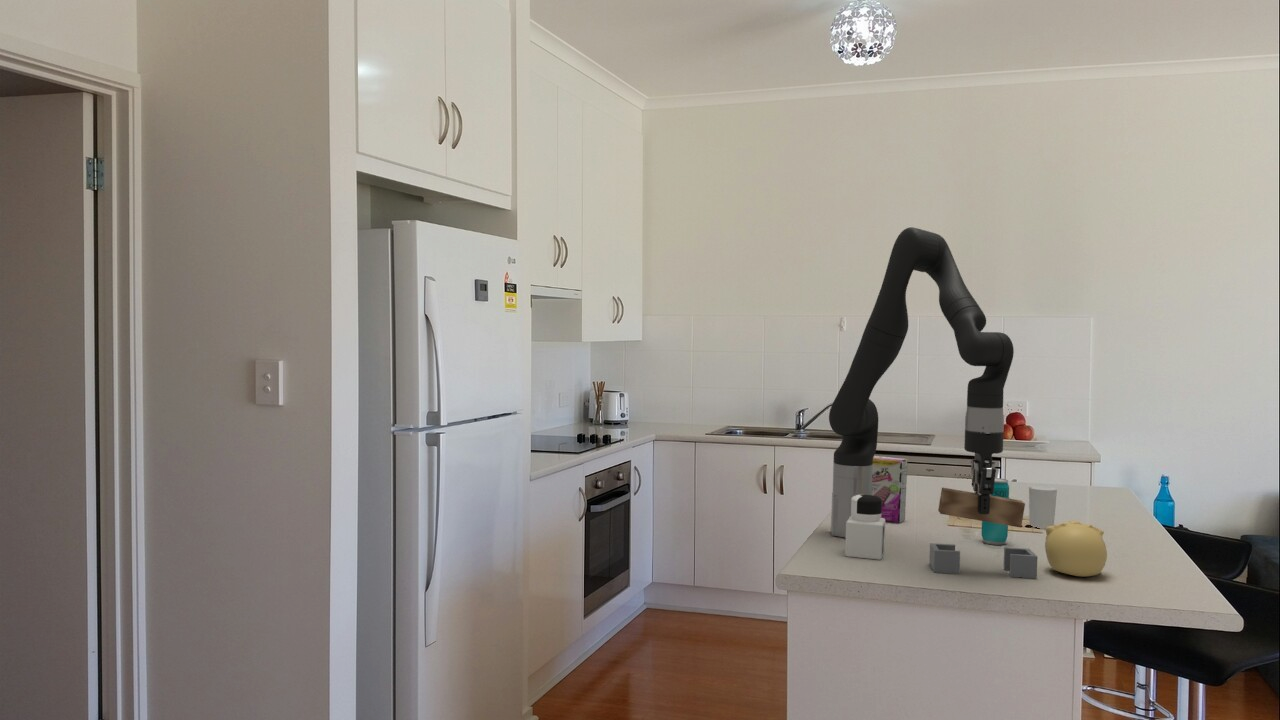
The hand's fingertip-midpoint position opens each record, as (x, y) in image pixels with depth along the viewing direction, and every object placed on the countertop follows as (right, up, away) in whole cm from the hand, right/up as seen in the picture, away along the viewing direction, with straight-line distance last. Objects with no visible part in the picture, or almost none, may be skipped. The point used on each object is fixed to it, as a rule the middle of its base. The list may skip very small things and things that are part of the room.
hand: (981, 511), depth 199 cm
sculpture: (+19, -13, 0) cm, 23 cm away
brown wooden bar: (0, -2, 0) cm, 2 cm away
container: (-21, -12, +13) cm, 27 cm away
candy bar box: (-7, -11, +52) cm, 54 cm away
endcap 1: (-7, -12, +2) cm, 14 cm away
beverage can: (+13, -12, +28) cm, 33 cm away
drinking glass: (+32, -12, +48) cm, 59 cm away
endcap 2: (+8, -13, -1) cm, 15 cm away
